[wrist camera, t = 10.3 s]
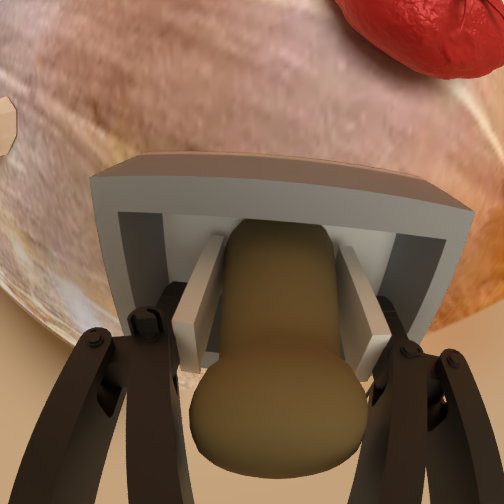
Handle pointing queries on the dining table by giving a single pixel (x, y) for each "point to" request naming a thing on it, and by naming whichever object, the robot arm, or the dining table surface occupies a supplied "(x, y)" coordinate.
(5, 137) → the pepper shaker
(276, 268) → the pepper shaker
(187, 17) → the dining table surface
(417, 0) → the pomegranate
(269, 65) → the dining table surface
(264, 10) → the dining table surface
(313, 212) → the well block
